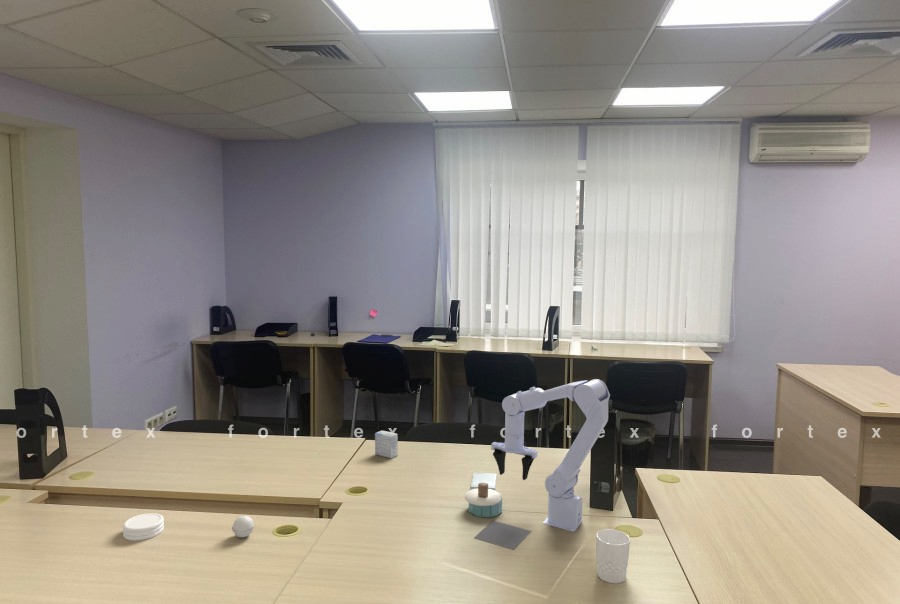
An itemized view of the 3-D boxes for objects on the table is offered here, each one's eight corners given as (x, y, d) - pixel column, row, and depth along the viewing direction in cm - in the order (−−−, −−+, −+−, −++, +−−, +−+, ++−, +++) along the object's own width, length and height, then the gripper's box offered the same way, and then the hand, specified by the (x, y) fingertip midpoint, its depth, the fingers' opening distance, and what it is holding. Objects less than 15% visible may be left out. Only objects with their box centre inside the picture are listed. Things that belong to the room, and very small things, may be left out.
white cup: (622, 567, 144) (623, 528, 143) (633, 585, 136) (634, 544, 135) (591, 567, 144) (592, 528, 143) (600, 585, 136) (601, 545, 135)
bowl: (507, 509, 176) (507, 495, 175) (492, 522, 167) (493, 508, 167) (478, 502, 181) (478, 488, 180) (462, 514, 172) (462, 500, 172)
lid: (506, 495, 176) (507, 481, 175) (492, 509, 166) (492, 495, 166) (474, 487, 181) (474, 474, 180) (458, 500, 171) (458, 487, 171)
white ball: (232, 533, 159) (231, 513, 158) (253, 530, 161) (253, 510, 160) (232, 546, 151) (231, 526, 151) (255, 543, 153) (254, 522, 153)
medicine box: (398, 455, 220) (398, 433, 220) (390, 459, 217) (391, 436, 216) (382, 451, 225) (382, 430, 224) (374, 454, 221) (374, 432, 220)
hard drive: (473, 472, 202) (470, 486, 190) (497, 473, 201) (495, 487, 189) (473, 476, 202) (470, 491, 190) (496, 478, 201) (495, 492, 189)
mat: (531, 532, 161) (531, 530, 161) (514, 551, 151) (514, 549, 151) (492, 522, 167) (492, 520, 167) (473, 539, 157) (473, 537, 157)
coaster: (165, 521, 165) (165, 510, 165) (162, 538, 156) (161, 525, 156) (126, 527, 161) (125, 515, 161) (120, 544, 152) (119, 531, 152)
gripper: (487, 432, 175) (486, 475, 176) (531, 440, 168) (530, 485, 169) (497, 426, 181) (496, 468, 182) (540, 434, 174) (539, 477, 175)
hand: (513, 476), depth 176 cm, fingers open, 7 cm apart
